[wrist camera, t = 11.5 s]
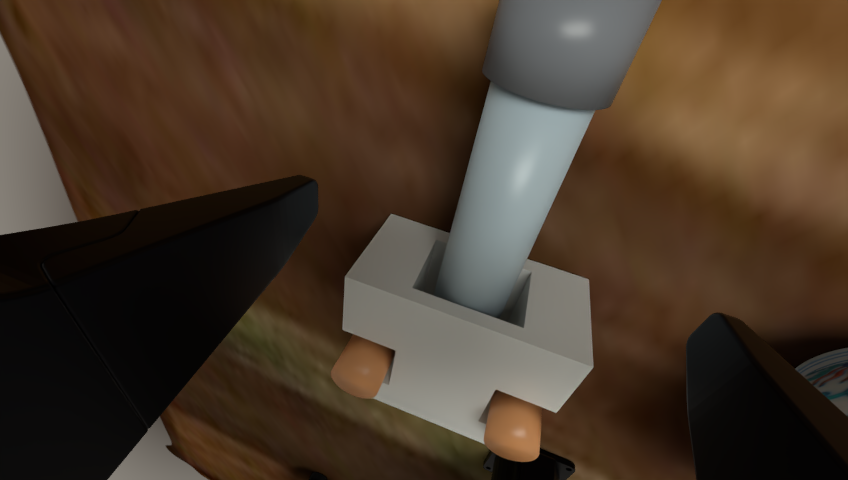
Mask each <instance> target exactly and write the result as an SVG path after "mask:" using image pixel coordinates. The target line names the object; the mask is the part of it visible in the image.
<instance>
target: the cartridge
mask: <svg viewBox="0 0 848 480" xmlns="http://www.w3.org/2000/svg"><path fill="white" fill-rule="evenodd" d="M661 1H662V0H499V4H498V8H497V12H496V16H495V20H494V24H493V28H492V32H491V36H490V40H489V44H488V48H487V52H486V56H485V60H484V64H483V68H482V72H483V74H484V75H485V76H486V77H487V78H488V79H489V80H490V81H491V82H490V86H489V90H488V93H487V97H486V101H485V105H484V108H483V112H482V116H481V119H480V123H479V127H478V131H477V134H476V138H475V142H474V146H473V149H472V153H471V157H470V160H469V164H468V168H467V172H466V175H465V179H464V183H463V186H462V190H461V194H460V198H459V201H458V205H457V209H456V213H455V216H454V220H453V224H452V227H451V231H450V235H449V239H448V242H447V246H446V250H445V253H444V257H443V261H442V265H441V268H440V272H439V276H438V280H437V283H436V287H435V291H434V294H433V296H436V297H439V298H442V299H444V300H447V301H450V302H453V303H456V304H458V305H461V306H464V307H467V308H469V309H472V310H475V311H478V312H481V313H483V314H486V315H489V316H492V317H494V318H497V319H500V316H501V314H502V312H503V310H504V308H505V306H506V303H507V301H508V299H509V297H510V295H511V292H512V290H513V288H514V286H515V284H516V282H517V279H518V277H519V275H520V273H521V271H522V269H523V266H524V264H525V262H526V260H527V258H528V256H529V253H530V251H531V249H532V247H533V245H534V242H535V240H536V238H537V236H538V234H539V232H540V229H541V227H542V225H543V223H544V221H545V219H546V216H547V214H548V212H549V210H550V208H551V206H552V203H553V201H554V199H555V197H556V195H557V192H558V190H559V188H560V186H561V184H562V182H563V179H564V177H565V175H566V173H567V171H568V169H569V166H570V164H571V162H572V160H573V158H574V155H575V153H576V151H577V149H578V147H579V145H580V142H581V140H582V138H583V136H584V134H585V132H586V129H587V127H588V125H589V123H590V121H591V119H592V116H593V114H594V112H595V110H599V109H605V108H608V107H610V106H611V104H612V102H613V100H614V98H615V96H616V94H617V92H618V90H619V88H620V86H621V84H622V82H623V79H624V77H625V75H626V73H627V71H628V69H629V67H630V65H631V63H632V61H633V59H634V57H635V55H636V53H637V50H638V48H639V46H640V44H641V42H642V40H643V38H644V36H645V34H646V32H647V30H648V28H649V26H650V24H651V21H652V19H653V17H654V15H655V13H656V11H657V9H658V7H659V5H660V3H661Z"/></svg>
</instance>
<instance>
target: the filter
mask: <svg viewBox="0 0 848 480" xmlns="http://www.w3.org/2000/svg"><path fill="white" fill-rule="evenodd" d="M309 480H327V478H326V477H325V476H324V475H322V474H320V473H317V472H314V473H312V475H311V476H310V478H309Z"/></svg>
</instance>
